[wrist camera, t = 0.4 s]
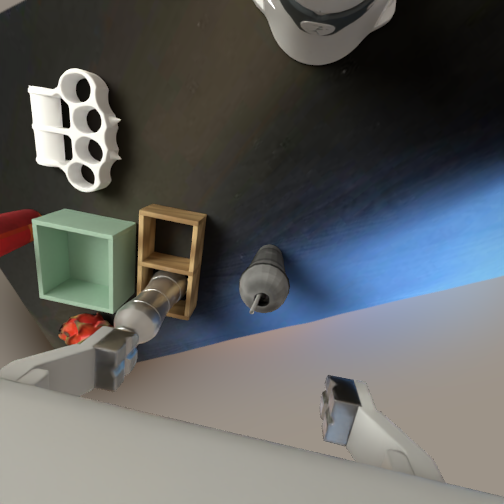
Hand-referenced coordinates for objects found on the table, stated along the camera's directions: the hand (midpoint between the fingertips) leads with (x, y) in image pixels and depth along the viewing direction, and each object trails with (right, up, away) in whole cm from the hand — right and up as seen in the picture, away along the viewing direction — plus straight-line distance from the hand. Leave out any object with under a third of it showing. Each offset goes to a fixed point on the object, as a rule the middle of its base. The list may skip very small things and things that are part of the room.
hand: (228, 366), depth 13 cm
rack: (-13, +4, +44) cm, 46 cm away
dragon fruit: (-32, -10, +51) cm, 61 cm away
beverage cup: (+4, +4, +41) cm, 42 cm away
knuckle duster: (-27, +24, +38) cm, 52 cm away
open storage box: (-28, +5, +45) cm, 53 cm away
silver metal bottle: (-14, 0, +45) cm, 48 cm away
